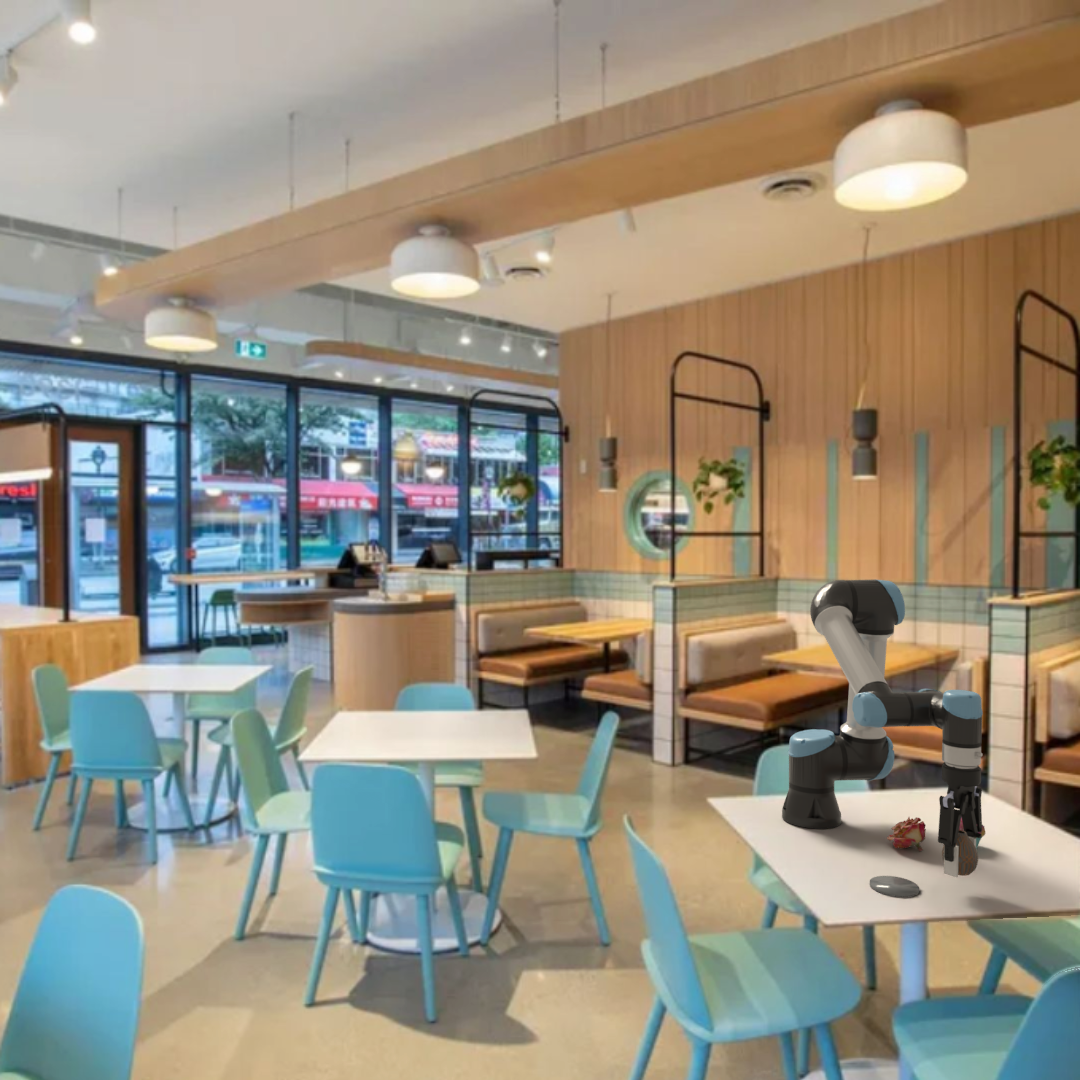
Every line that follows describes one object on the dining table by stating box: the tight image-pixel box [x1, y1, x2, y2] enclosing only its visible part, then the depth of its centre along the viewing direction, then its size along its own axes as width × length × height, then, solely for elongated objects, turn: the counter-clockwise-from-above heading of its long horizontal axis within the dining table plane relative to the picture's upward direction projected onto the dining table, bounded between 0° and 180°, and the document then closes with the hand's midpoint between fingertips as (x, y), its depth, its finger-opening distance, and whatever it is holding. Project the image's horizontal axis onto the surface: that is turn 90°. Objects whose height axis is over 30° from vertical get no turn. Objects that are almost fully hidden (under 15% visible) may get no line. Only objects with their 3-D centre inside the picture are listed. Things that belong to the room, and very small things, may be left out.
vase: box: [941, 830, 979, 877], centre depth 188 cm, size 7×7×9 cm
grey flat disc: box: [869, 875, 920, 898], centre depth 190 cm, size 10×10×1 cm
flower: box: [886, 816, 927, 852], centre depth 213 cm, size 10×9×8 cm
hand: (959, 870), depth 188 cm, fingers closed on vase, 7 cm apart
